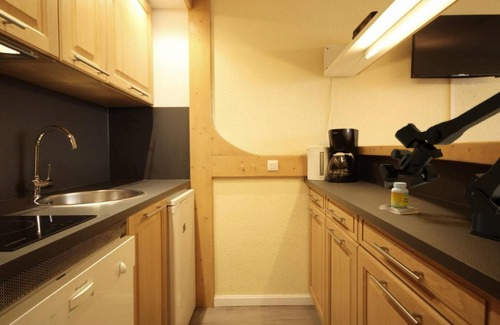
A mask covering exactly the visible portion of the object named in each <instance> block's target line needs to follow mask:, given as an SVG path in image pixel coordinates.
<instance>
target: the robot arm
mask: <svg viewBox="0 0 500 325" xmlns="http://www.w3.org/2000/svg"><path fill="white" fill-rule="evenodd" d="M499 113H500V91H498V92H496V93H495V94H493V95H491V96H490V97H489V98H487V99H485V100H483V101H481V102H479V103H478V104H476V105H475V106H473V107H470V108H469V109H468V110H466V111H465V112H463V113H461V114H460V115H457V116H456V117H454V118H451V119H449V120H445V121H442V122H438V123H437V124H434V125H432V126H430V127H428V128H427V129H426V130H423V131H421V130H420V129H419V128H418V127H417V126H416V125H415V124H414V123H412V122H409V123H407V125H405V126H402V127H401V128H399V129H398V130H397V131H396V132H395V134H394V137H395V139H396V140H397V141H398V142H400V144H402V146H403V147H404V148H405V149H402V148H400V149H399V148H393V150H391V152H390V158H392V159H393V160H396V161H398V163H397V164H398V167H399V166H400V168H395V166H394V164H391V163H390V164H389V163H387V164H386V163H383V164H382V163H381V164H380V165H379V167H378V171H379V173H380V175H381V177H382V179H383V182H384V183H383V185H384V186H383V187H384V189H387V188H389V187H391V186H393V185H394V183H395V182H396V181H397V180H398V179H399V177H406V178H408V177H409V178H412V177H413V178H412V179H411V181H410V182H409V183H408V187H407V188H408V189H412V188H415V187H417V186H418V187H419V186H421V185H424V184H428V183H432V182H436V181H437V180H438V179H439V177H440V175H439V172H438V171H437V170H436V169H435V167H434V165H433V164H429V163H430V161H431V160H432V159H433V160H436V159H440V158H443V157H444V153H443V151H442V149H441V148H438V147H436V146H449V145H451V144H453V143H454V142H456V141H458V139H459V138H461V137H462V136H463V135H464V133H466V132H467V131H468V130H469V129H471V128H473V127H476V126H477V125H479V124H480V123H482V122H484V121H487V120H488V119H490V118H492V117H493V116H496V115H498V114H499ZM410 149H412V151H411V150H410ZM463 186H464V187H463V188H465V189H464V192H463V195H464V198H465V200H466V201H467V202H468V203H469V206H470V208H471V211H472V212H473V214H472V216H471V230H469V231H468V233H469V234H473V235H475V236H480V237H483V238H487V239H491V240H493V241H500V156H499V157H498V158H497V160H496V161H495V162H494V163H493V165H492V166H491V167H490V169H488V171H486V173H485V172H484V173H474V174H473V175H472V176H471V178H470V179H469V182H468V183H467V184H465V185H463Z"/></svg>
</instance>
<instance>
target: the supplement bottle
mask: <svg viewBox="0 0 500 325" xmlns="http://www.w3.org/2000/svg"><path fill="white" fill-rule="evenodd" d="M390 195H391V197H390V204H391V208H394V209H398V210H405V209H408V206H409V189H407V183H406V182H400V181H399V182H397V181H395V183H393V187H392V188H391V194H390Z"/></svg>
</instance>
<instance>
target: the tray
mask: <svg viewBox="0 0 500 325" xmlns="http://www.w3.org/2000/svg"><path fill="white" fill-rule="evenodd" d="M379 210H382V211H384V212H389V213H392V214H396V215H399V216H400V215H407V214H408V215H409V214H410V215H412V214H419V213H420V208H419V207H418V208H417V207H412V206H409V205H408V209H405V210H398V209H394V208H391V203H390V204H380V205H379Z"/></svg>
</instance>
